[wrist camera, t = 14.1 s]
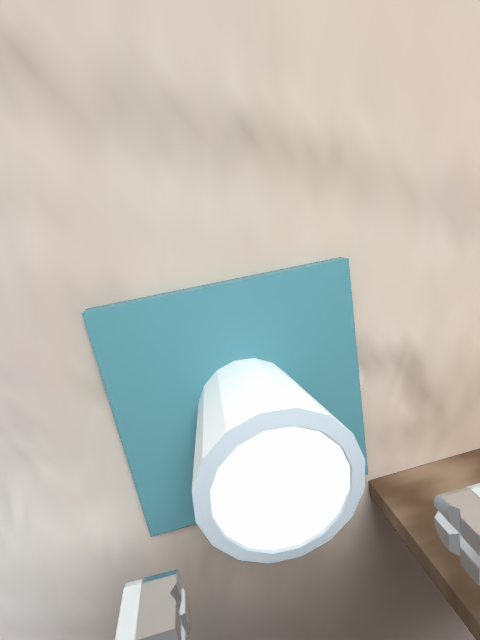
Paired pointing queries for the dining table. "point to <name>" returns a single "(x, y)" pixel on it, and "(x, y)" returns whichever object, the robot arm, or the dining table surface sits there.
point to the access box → (433, 525)
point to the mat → (219, 365)
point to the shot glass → (270, 465)
